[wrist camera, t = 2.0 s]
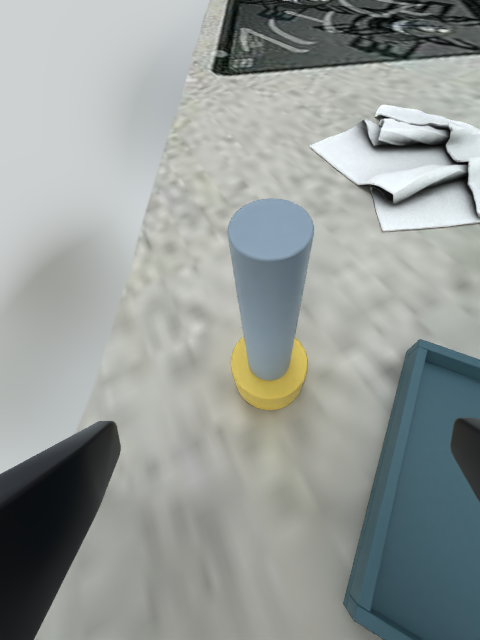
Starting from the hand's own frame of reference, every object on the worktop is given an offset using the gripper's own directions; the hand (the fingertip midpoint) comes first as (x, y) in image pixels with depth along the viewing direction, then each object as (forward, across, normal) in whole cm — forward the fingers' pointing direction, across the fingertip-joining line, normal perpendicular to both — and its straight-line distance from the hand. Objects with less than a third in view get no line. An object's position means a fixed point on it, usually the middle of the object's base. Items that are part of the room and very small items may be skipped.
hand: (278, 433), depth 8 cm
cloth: (+29, -16, -12) cm, 35 cm away
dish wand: (+12, 0, +5) cm, 13 cm away
